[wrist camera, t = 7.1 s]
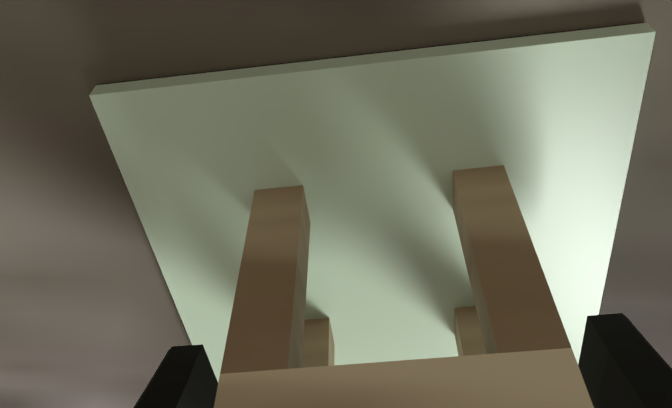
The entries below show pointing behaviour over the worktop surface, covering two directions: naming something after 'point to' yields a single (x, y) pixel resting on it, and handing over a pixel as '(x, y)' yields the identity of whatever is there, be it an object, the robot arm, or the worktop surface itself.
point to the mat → (385, 176)
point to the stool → (406, 375)
